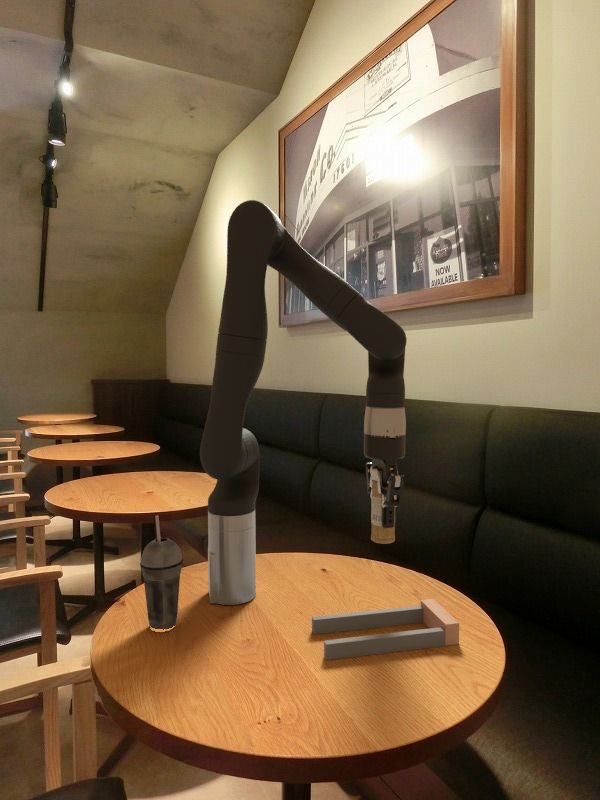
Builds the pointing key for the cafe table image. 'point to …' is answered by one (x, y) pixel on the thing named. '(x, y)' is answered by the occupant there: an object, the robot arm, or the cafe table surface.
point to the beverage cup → (161, 580)
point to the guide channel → (429, 612)
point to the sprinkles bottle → (379, 516)
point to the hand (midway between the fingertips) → (382, 522)
